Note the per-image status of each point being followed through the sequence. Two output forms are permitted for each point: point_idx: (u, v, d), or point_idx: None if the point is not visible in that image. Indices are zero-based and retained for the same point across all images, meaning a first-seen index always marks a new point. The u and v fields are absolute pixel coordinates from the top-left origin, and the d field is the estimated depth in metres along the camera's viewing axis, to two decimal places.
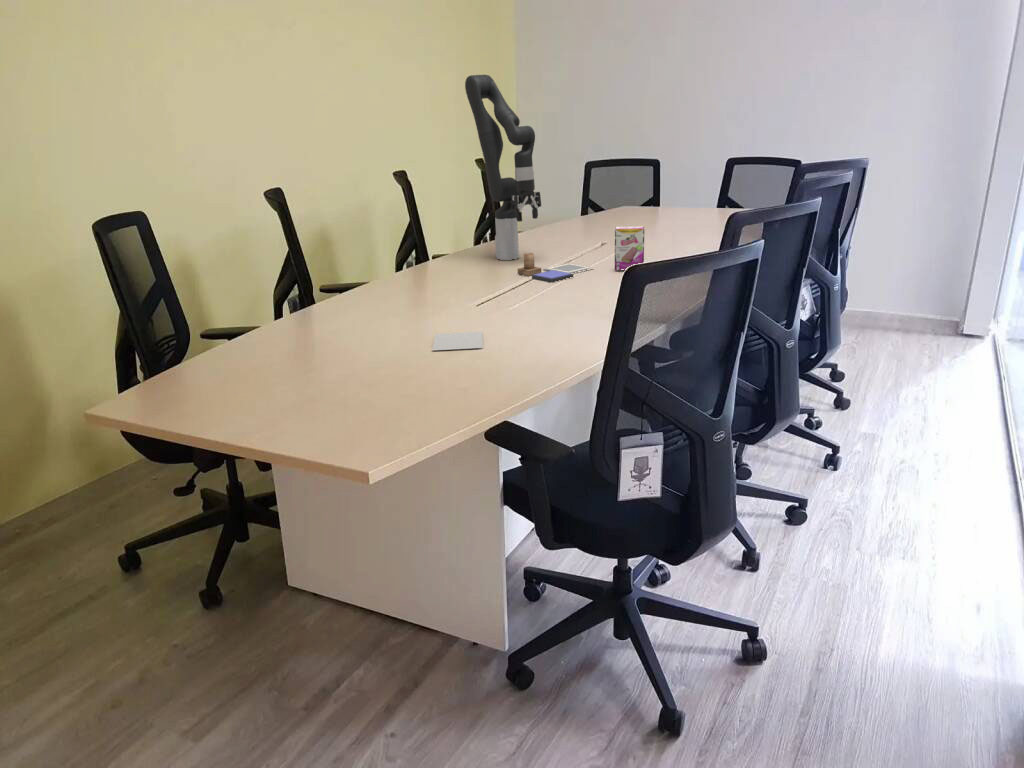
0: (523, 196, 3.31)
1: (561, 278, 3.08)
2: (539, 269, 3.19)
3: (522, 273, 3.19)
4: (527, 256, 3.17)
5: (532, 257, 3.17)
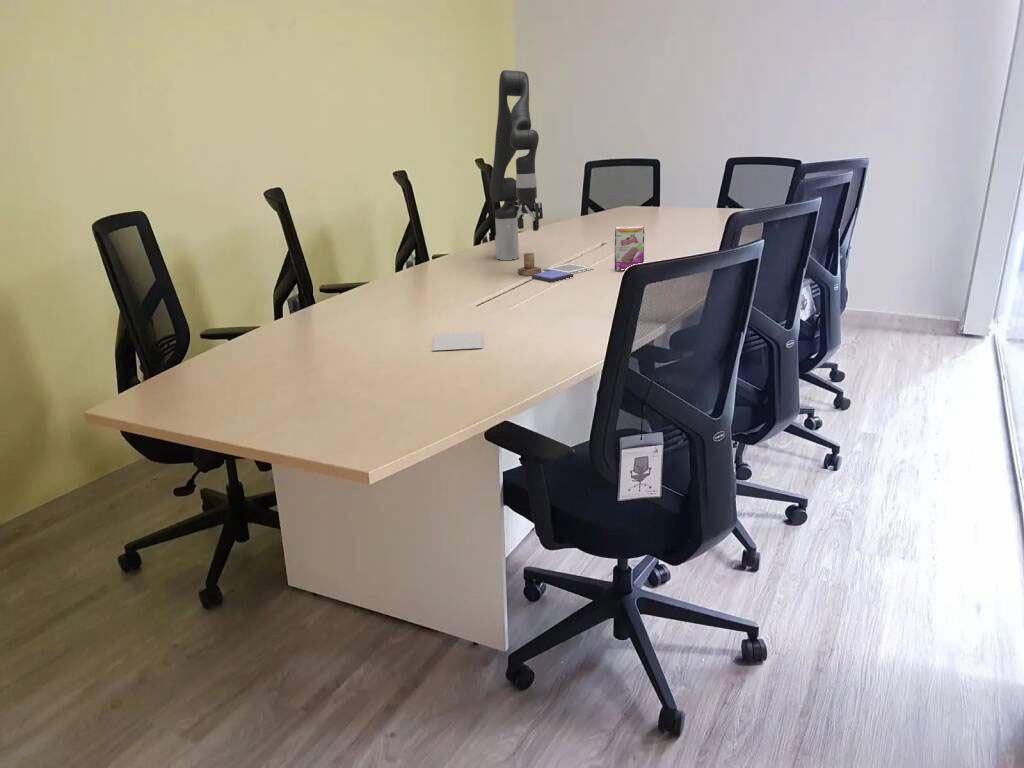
0: None
1: (561, 278, 3.08)
2: (539, 269, 3.19)
3: (522, 273, 3.19)
4: (527, 256, 3.17)
5: (532, 257, 3.17)
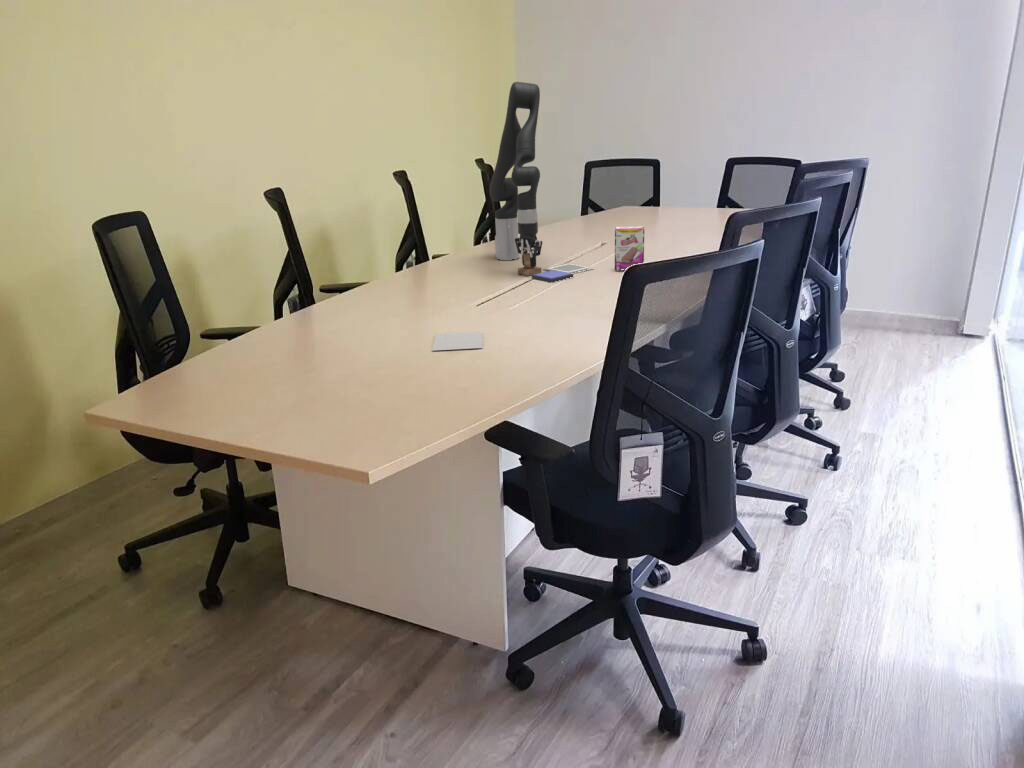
0: None
1: (561, 278, 3.08)
2: (539, 269, 3.19)
3: (522, 273, 3.19)
4: (527, 256, 3.17)
5: None
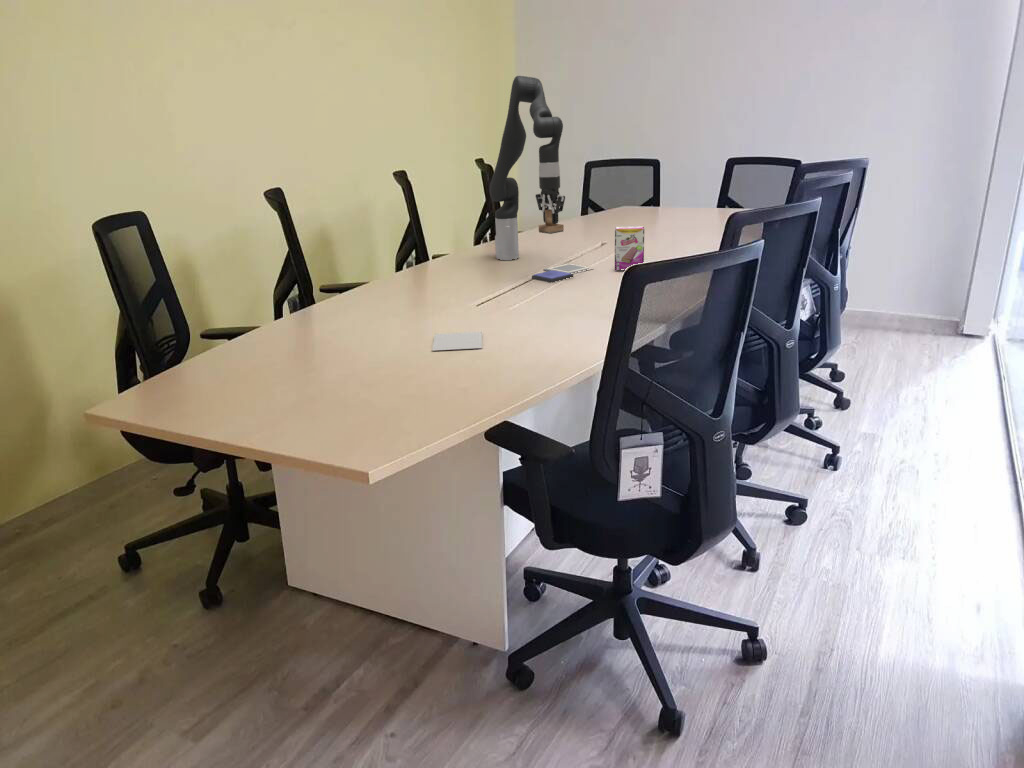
0: None
1: (561, 278, 3.08)
2: (561, 226, 3.05)
3: (543, 230, 3.05)
4: (549, 212, 3.03)
5: None
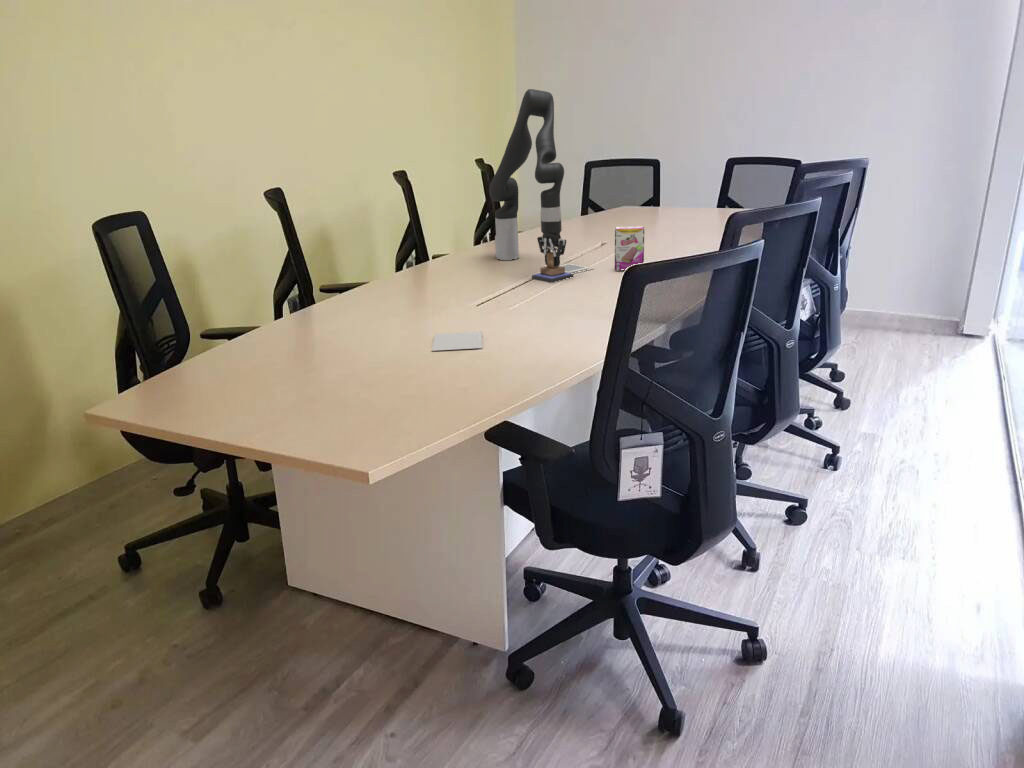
0: None
1: (561, 278, 3.08)
2: (562, 268, 3.10)
3: (545, 272, 3.10)
4: (550, 255, 3.08)
5: None
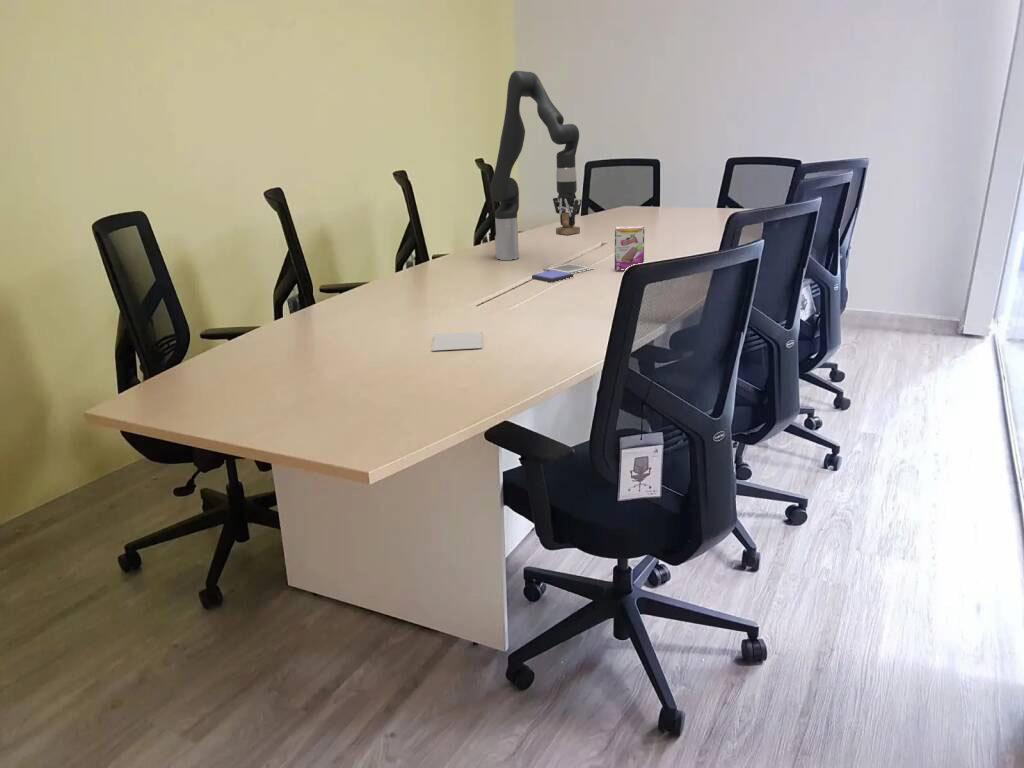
0: None
1: (561, 278, 3.08)
2: (578, 228, 3.19)
3: (561, 232, 3.19)
4: (566, 215, 3.17)
5: None
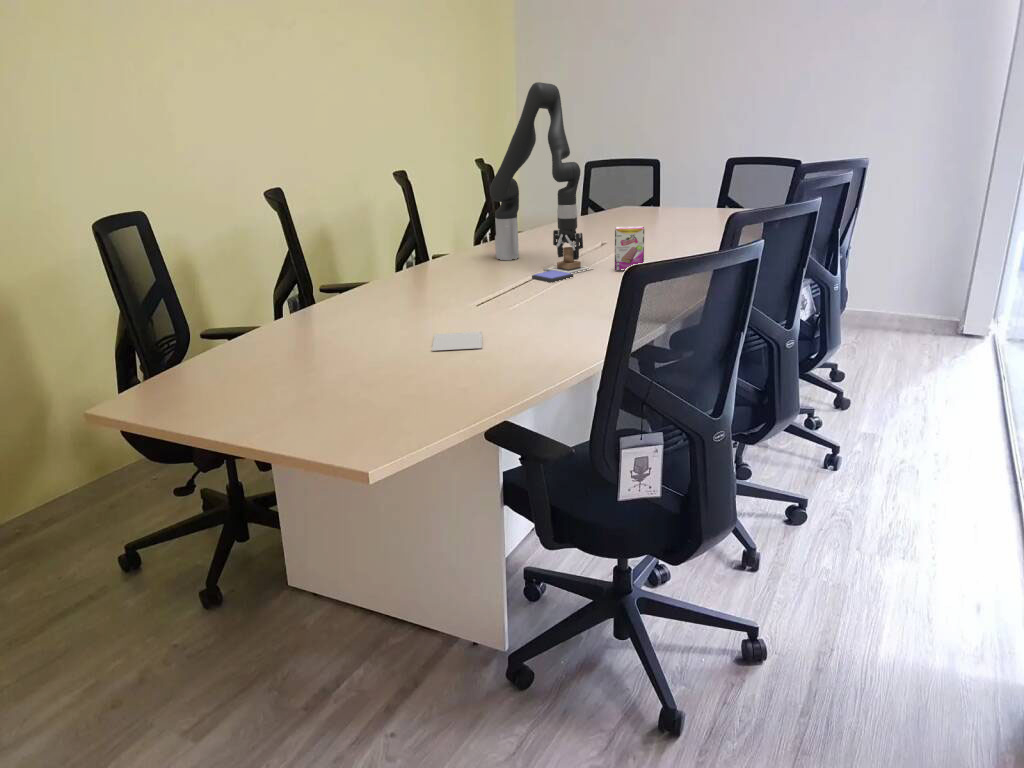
0: None
1: (561, 278, 3.08)
2: (578, 263, 3.24)
3: (562, 267, 3.23)
4: (567, 250, 3.21)
5: (572, 251, 3.22)
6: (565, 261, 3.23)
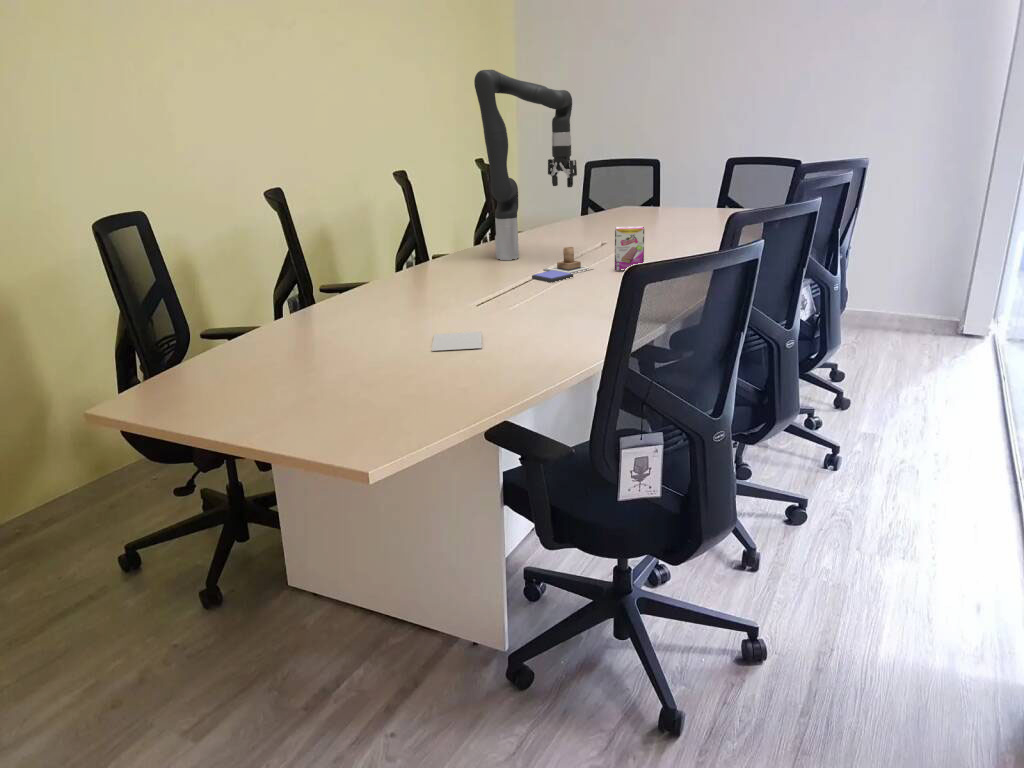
0: None
1: (561, 278, 3.08)
2: (578, 263, 3.24)
3: (562, 267, 3.23)
4: (567, 250, 3.21)
5: (572, 251, 3.22)
6: (565, 261, 3.23)
